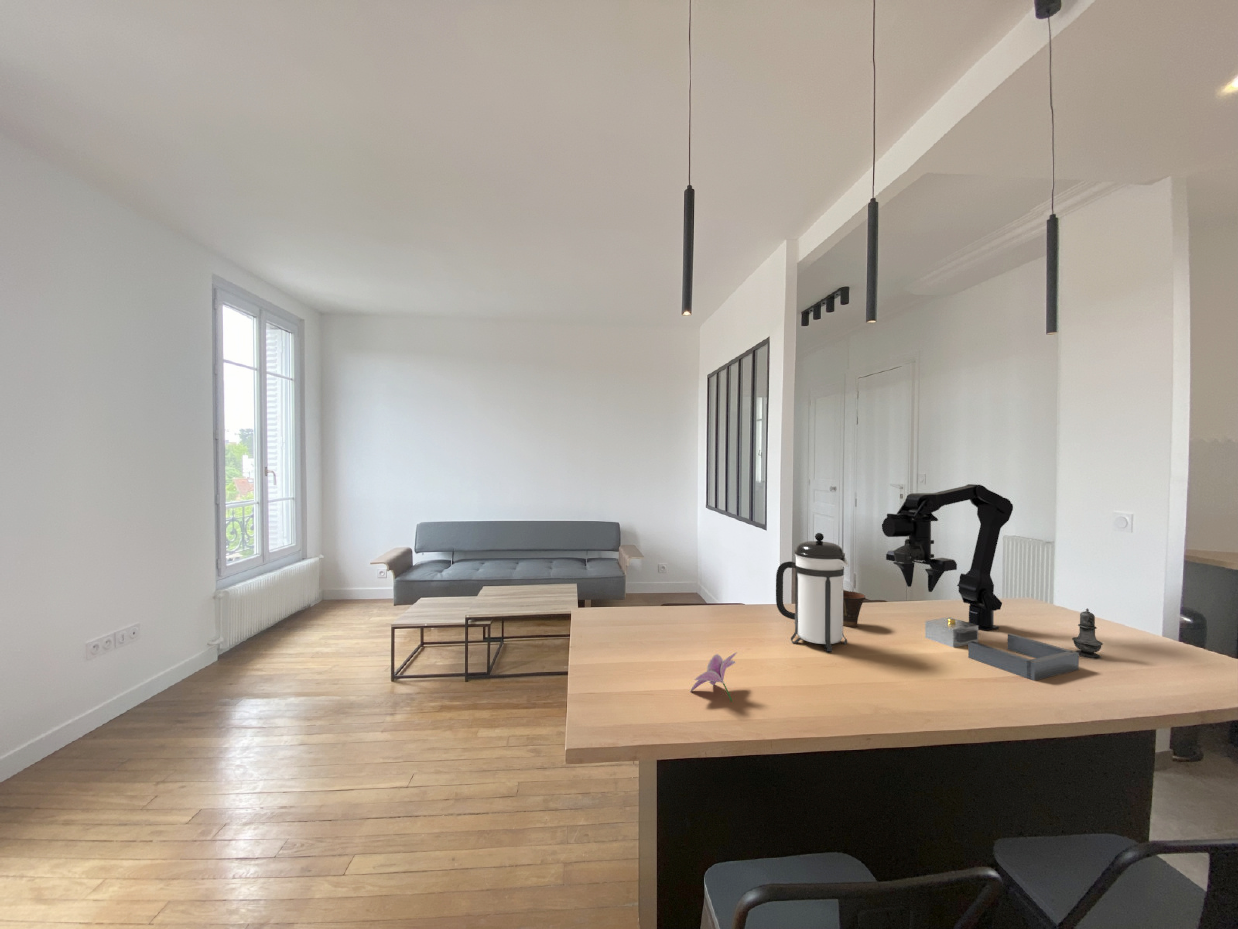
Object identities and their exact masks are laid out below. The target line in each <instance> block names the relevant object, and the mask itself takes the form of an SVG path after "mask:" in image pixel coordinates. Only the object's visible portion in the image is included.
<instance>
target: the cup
mask: <svg viewBox="0 0 1238 929" xmlns="http://www.w3.org/2000/svg"><path fill="white" fill-rule="evenodd" d="M865 598H866V595H865V594H863V593H860V592H857V591H850V590H843V627H847V628H855V627H857V626H858V621H859V615H860V612H861V608H862V605H863V602H864V601H865Z"/></svg>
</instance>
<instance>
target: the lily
mask: <svg viewBox="0 0 1238 929" xmlns="http://www.w3.org/2000/svg"><path fill="white" fill-rule="evenodd" d="M737 654H738V651H737V652H734V653H733V654H731V655H729V656H728V657H726V658H725V659H723V657H722V656H721V655H720V654H718V653H715V654H714V655H713V656H712V657H711V659H710V660H709V662H708V664H707V666H706V671H705V672H702V673H701V674H700V675H698V676H696V677H695V678H694V681H696V682H695V683H694V685H692V688H690V691H689V692H693V691H694V690H696V689H697V688H698V687H699V686H701V685H703V684H705V683H706V682H708V683H709V684H710V685H711V686H715V685H716V684H717V683H721V684H722V685H723V687H724V689H725V691H726V692H727V696H728V697H729V700H730V702H733V699H732V697H731V695H730V692H729V690H728V688H727V686H726V683H725V682H724V679H725V675H726V674H725V672H726V670H727V668H729V667H731V666H733V665H735V664H736V661H735V660H732V659H733V658H734V657H735V656H736V655H737Z"/></svg>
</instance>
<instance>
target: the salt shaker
mask: <svg viewBox="0 0 1238 929" xmlns="http://www.w3.org/2000/svg"><path fill="white" fill-rule="evenodd" d="M1095 621H1096V615H1095V614H1094V613H1092V612H1090V609H1089V608H1086V609H1085V611H1081V612H1080V613H1079V623H1078V624H1077V626H1078V627H1079V632H1078V633H1079V634H1078V635H1077V636H1075V637H1072V638H1071V640H1072V641H1073V644H1074V646H1075V648H1077V650H1073V651H1074V652H1078V653H1079V657H1082V658H1087V659H1092V660H1093V659H1094V660H1100V659H1102V656H1101V655H1099V654H1098V653H1097V652H1099V651H1100V650H1101V649H1102V646H1103V645H1104V643H1103V642H1102V641H1099V640H1098V639H1097V637H1096V629H1098V628H1097V627H1096V624H1095V623H1096V622H1095Z"/></svg>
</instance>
